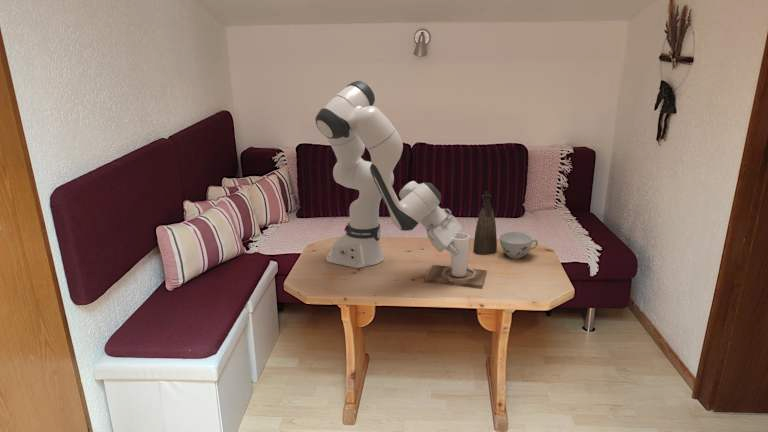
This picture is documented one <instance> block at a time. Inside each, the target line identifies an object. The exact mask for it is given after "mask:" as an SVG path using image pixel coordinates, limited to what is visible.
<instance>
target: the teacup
mask: <svg viewBox="0 0 768 432" xmlns="http://www.w3.org/2000/svg"><path fill="white" fill-rule="evenodd" d="M499 242H500V243H499V244H500V247H501V249H502V250H503V253H505V254H506V256H507V257H508V258H510V259H517V260H519V259H521V258H523V257H524V256H526V254H527V253H529V251H532V250H534V249H536V248H537V247H538V244H539V240H538V239H536V238H534V237H533V236H532V235H530V234H529V233H525V232H523V231H522V232H520V231H506V232H504V233H501V234H500V235H499ZM533 243H535V245H534V246H532V245H533Z"/></svg>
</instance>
